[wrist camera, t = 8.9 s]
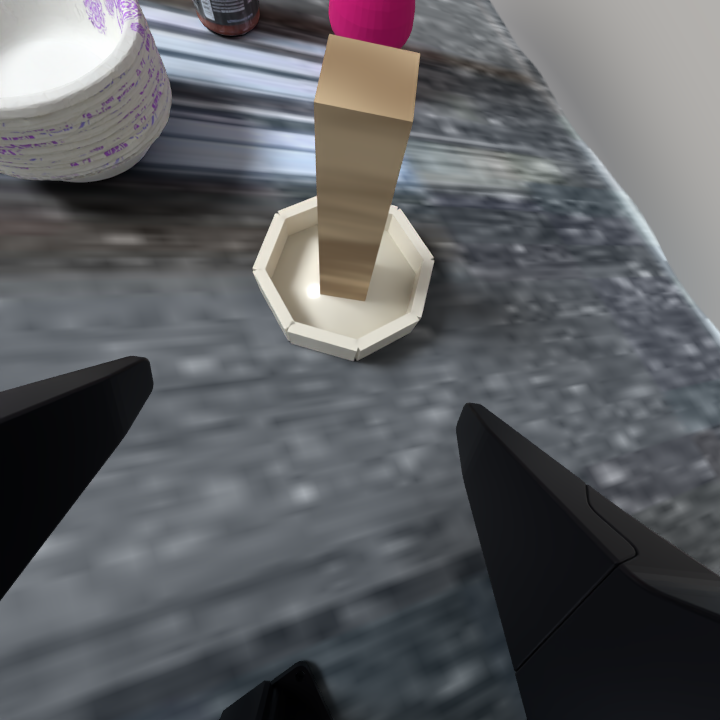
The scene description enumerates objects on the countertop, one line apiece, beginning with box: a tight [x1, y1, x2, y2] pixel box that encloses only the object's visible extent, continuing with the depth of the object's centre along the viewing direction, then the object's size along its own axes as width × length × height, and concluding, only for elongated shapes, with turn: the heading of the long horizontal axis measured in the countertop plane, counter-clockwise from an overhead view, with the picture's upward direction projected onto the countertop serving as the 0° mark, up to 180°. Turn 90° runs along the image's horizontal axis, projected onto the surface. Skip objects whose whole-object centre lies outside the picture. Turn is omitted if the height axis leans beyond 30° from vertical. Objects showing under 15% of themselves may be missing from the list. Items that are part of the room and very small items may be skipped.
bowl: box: [253, 196, 434, 361], centre depth 24 cm, size 12×12×2 cm
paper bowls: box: [0, 0, 172, 182], centre depth 23 cm, size 15×15×8 cm
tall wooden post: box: [314, 34, 420, 301], centre depth 18 cm, size 3×3×14 cm
